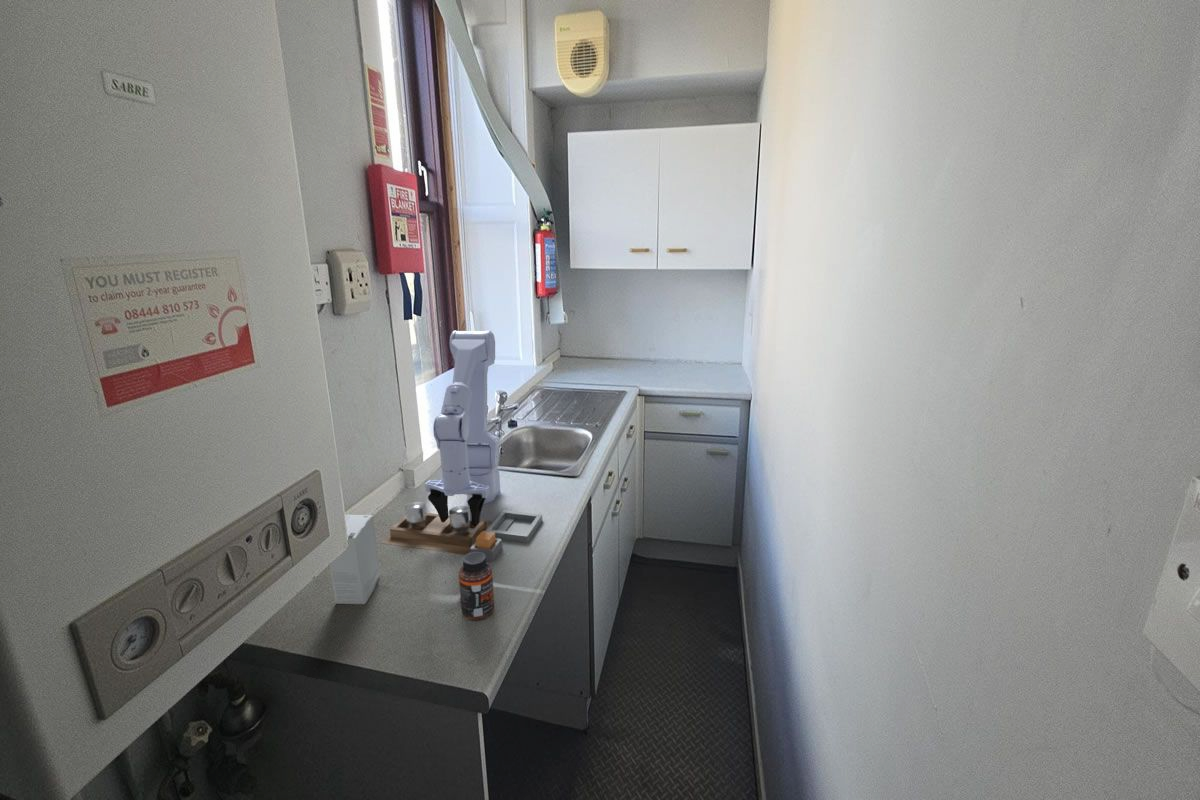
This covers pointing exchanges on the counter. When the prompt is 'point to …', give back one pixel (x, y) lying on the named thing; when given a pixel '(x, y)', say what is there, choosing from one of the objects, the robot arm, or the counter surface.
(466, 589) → the supplement bottle
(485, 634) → the counter surface
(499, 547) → the button housing
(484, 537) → the button
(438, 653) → the counter surface
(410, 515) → the cylinder
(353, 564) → the skincare box
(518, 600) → the counter surface
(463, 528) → the billet
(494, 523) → the shallow grey tray
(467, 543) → the wooden compartment tray
